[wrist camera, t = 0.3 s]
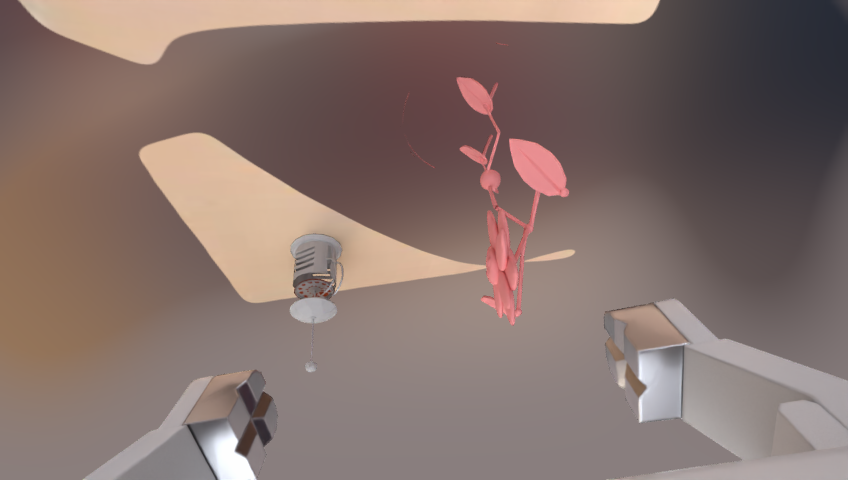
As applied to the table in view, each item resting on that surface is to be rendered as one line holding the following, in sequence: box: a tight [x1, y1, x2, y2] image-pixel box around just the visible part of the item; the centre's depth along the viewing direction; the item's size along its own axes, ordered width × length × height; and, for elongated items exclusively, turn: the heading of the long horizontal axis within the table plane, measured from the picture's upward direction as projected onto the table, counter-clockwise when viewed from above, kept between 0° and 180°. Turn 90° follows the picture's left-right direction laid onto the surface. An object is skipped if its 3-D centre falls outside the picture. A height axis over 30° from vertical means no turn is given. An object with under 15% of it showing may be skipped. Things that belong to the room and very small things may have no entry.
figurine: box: [430, 44, 569, 326], centre depth 56 cm, size 15×26×35 cm, turn 2°
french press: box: [290, 234, 343, 372], centre depth 79 cm, size 10×12×25 cm
